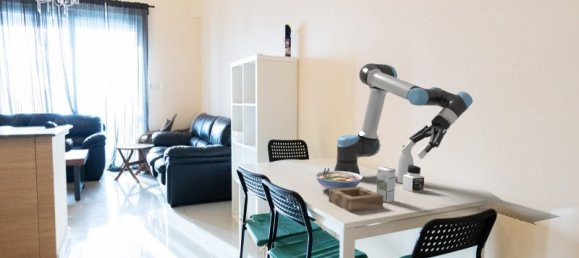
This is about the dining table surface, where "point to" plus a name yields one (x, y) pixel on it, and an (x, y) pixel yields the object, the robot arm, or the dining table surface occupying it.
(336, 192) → the walnut holder
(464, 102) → the robot arm
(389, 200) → the syrup box
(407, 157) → the milk bottle
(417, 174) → the medicine bottle
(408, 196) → the dining table surface
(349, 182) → the ramen bowl
